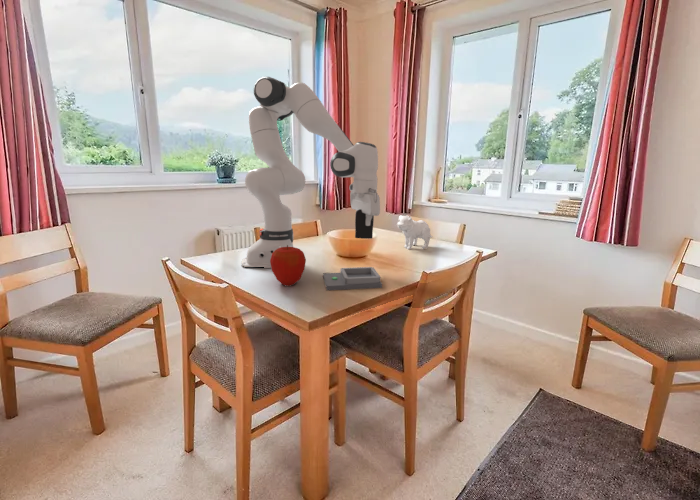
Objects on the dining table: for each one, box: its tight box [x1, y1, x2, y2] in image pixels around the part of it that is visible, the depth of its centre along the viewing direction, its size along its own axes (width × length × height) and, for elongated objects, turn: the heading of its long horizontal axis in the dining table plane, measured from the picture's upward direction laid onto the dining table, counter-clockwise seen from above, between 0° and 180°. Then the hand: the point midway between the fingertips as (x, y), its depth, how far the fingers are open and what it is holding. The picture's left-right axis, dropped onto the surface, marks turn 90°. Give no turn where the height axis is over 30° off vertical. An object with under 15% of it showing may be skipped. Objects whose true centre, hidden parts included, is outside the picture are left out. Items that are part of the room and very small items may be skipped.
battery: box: [354, 209, 375, 240], centre depth 139 cm, size 7×4×11 cm, turn 87°
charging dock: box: [322, 266, 383, 291], centre depth 129 cm, size 19×14×4 cm
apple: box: [270, 245, 307, 287], centre depth 125 cm, size 12×12×14 cm
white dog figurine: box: [394, 214, 433, 251], centre depth 180 cm, size 25×10×17 cm, turn 125°
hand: (364, 224), depth 138 cm, fingers closed on battery, 5 cm apart
